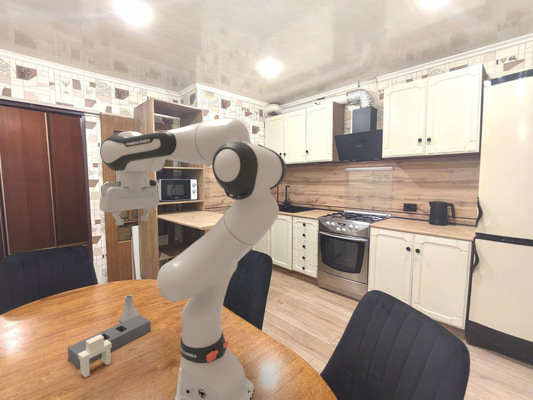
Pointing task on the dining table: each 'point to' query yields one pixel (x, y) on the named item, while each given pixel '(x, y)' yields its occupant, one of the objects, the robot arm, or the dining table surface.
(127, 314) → the flask
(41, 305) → the dining table surface
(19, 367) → the dining table surface
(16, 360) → the dining table surface
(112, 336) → the rail
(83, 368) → the clip
